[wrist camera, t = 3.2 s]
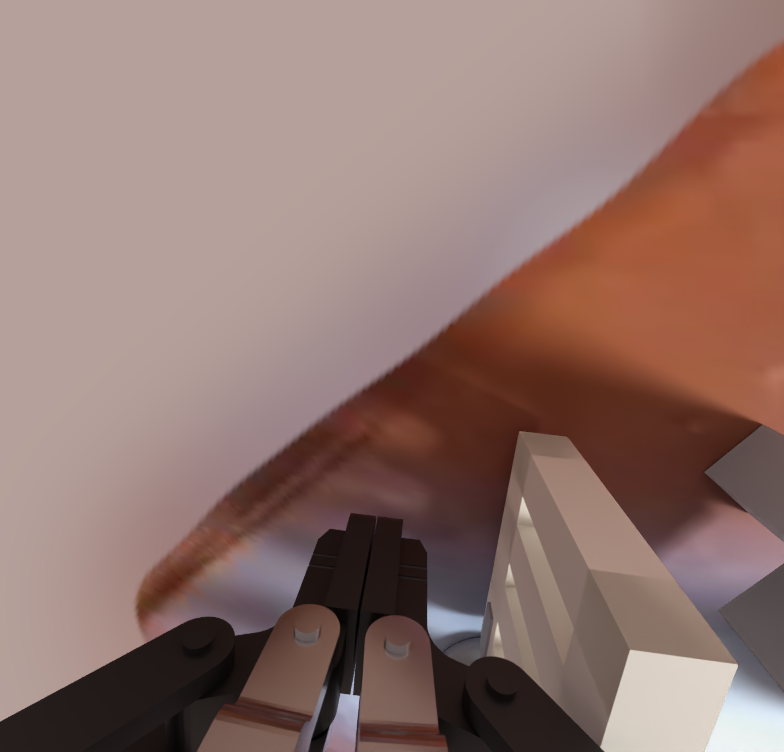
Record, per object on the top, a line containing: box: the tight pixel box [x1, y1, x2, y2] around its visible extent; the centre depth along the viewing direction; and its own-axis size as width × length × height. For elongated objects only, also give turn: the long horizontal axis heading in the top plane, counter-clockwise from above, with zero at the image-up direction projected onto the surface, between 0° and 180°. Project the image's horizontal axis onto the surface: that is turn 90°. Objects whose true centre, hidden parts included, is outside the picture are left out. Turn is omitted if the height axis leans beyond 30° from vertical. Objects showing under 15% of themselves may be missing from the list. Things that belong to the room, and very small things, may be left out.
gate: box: [479, 431, 739, 752], centre depth 12 cm, size 8×2×9 cm, turn 174°
